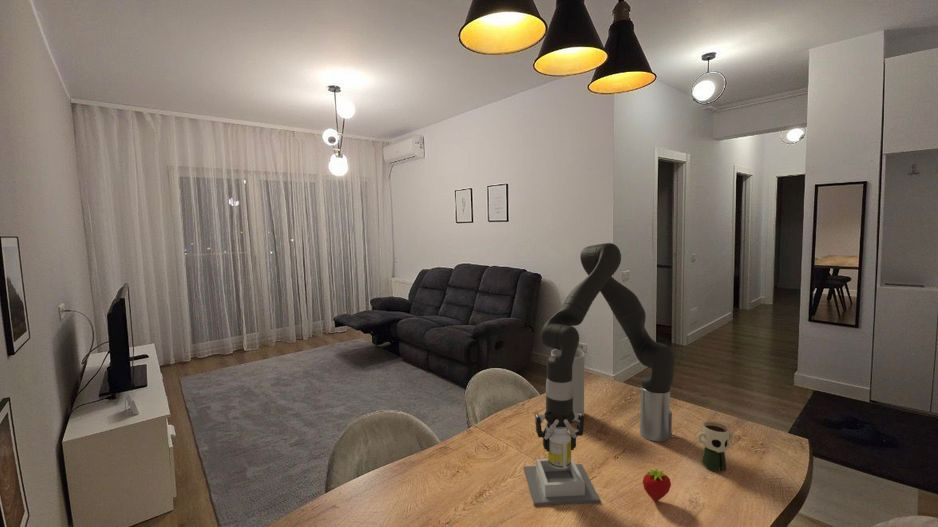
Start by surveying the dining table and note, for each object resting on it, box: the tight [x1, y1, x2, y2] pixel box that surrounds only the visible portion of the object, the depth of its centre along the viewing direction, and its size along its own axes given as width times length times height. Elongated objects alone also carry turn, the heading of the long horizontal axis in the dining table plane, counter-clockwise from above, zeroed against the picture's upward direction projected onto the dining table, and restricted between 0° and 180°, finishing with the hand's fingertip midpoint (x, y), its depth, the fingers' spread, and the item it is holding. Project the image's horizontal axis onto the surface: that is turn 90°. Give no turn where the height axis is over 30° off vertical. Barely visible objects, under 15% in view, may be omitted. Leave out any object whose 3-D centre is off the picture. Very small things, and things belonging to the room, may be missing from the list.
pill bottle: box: [547, 427, 572, 469], centre depth 115 cm, size 6×6×12 cm
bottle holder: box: [523, 457, 601, 506], centre depth 116 cm, size 18×16×4 cm
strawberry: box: [642, 467, 672, 502], centre depth 108 cm, size 6×8×10 cm
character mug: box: [697, 420, 734, 472], centre depth 122 cm, size 11×7×13 cm, turn 94°
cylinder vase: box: [550, 348, 586, 423], centre depth 156 cm, size 12×12×25 cm
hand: (559, 449), depth 115 cm, fingers closed on pill bottle, 6 cm apart
